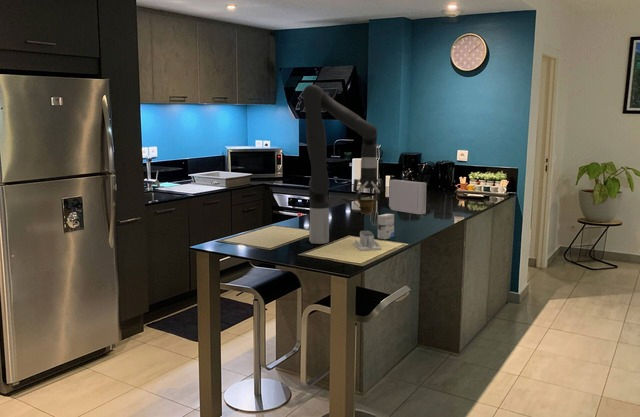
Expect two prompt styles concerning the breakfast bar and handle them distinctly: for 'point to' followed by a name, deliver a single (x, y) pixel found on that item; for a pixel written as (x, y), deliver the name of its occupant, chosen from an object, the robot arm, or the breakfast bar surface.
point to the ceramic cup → (366, 205)
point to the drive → (366, 238)
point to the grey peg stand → (362, 248)
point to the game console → (407, 196)
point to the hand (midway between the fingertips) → (368, 200)
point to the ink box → (385, 226)
